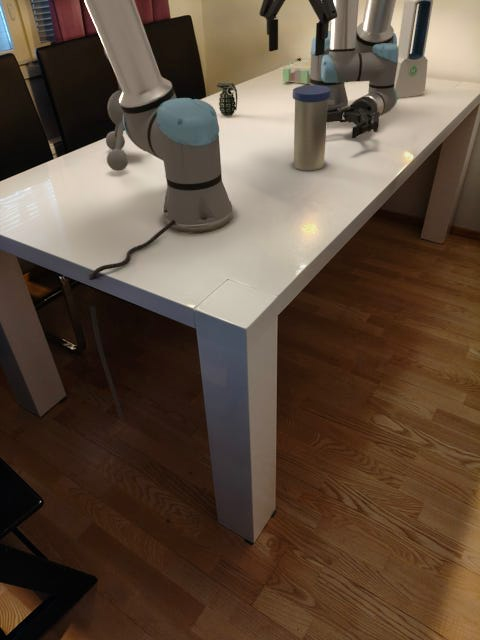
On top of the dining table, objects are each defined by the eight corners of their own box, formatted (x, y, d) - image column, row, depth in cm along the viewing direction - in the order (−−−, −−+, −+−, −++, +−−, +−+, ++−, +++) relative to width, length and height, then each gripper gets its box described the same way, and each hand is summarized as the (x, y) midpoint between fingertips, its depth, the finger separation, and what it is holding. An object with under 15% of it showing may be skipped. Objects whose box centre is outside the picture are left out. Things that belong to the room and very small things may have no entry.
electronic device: (393, 98, 176) (407, -1, 157) (383, 94, 181) (395, -2, 163) (424, 94, 178) (441, -4, 160) (413, 90, 184) (428, -5, 165)
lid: (338, 96, 118) (338, 89, 117) (310, 104, 114) (310, 96, 113) (312, 90, 124) (313, 83, 123) (285, 97, 120) (285, 90, 119)
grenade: (217, 117, 168) (214, 86, 162) (221, 112, 172) (219, 82, 166) (235, 117, 166) (233, 86, 160) (239, 113, 171) (238, 82, 165)
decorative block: (305, 54, 216) (346, 57, 206) (304, 70, 220) (345, 74, 210) (274, 66, 200) (317, 69, 190) (274, 83, 204) (316, 87, 194)
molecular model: (191, 162, 134) (177, 38, 116) (111, 177, 129) (83, 48, 110) (169, 138, 152) (153, 27, 134) (98, 150, 146) (72, 36, 128)
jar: (330, 165, 128) (335, 91, 117) (307, 173, 125) (310, 97, 114) (309, 157, 134) (312, 86, 122) (287, 164, 130) (288, 91, 119)
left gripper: (243, -57, 109) (246, 51, 121) (339, -62, 95) (331, 59, 108) (264, -58, 113) (265, 46, 126) (359, -63, 99) (349, 54, 112)
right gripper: (404, 128, 140) (371, 150, 127) (327, 117, 153) (291, 136, 140) (408, 101, 136) (375, 121, 123) (329, 91, 148) (291, 108, 135)
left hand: (295, 52), depth 117 cm, fingers open, 13 cm apart
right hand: (330, 129), depth 131 cm, fingers open, 13 cm apart
